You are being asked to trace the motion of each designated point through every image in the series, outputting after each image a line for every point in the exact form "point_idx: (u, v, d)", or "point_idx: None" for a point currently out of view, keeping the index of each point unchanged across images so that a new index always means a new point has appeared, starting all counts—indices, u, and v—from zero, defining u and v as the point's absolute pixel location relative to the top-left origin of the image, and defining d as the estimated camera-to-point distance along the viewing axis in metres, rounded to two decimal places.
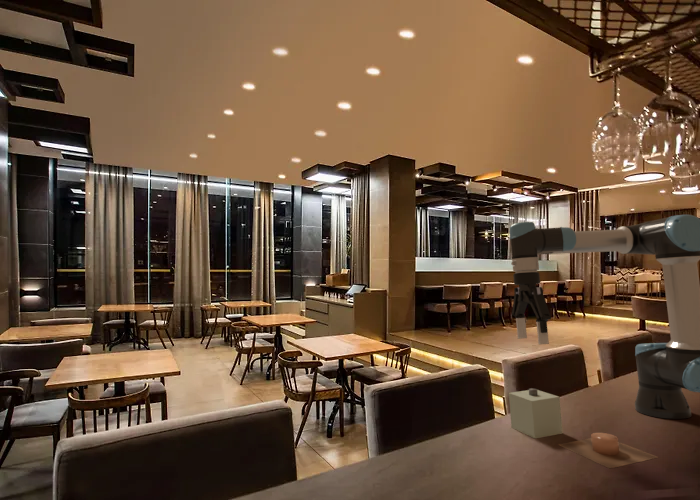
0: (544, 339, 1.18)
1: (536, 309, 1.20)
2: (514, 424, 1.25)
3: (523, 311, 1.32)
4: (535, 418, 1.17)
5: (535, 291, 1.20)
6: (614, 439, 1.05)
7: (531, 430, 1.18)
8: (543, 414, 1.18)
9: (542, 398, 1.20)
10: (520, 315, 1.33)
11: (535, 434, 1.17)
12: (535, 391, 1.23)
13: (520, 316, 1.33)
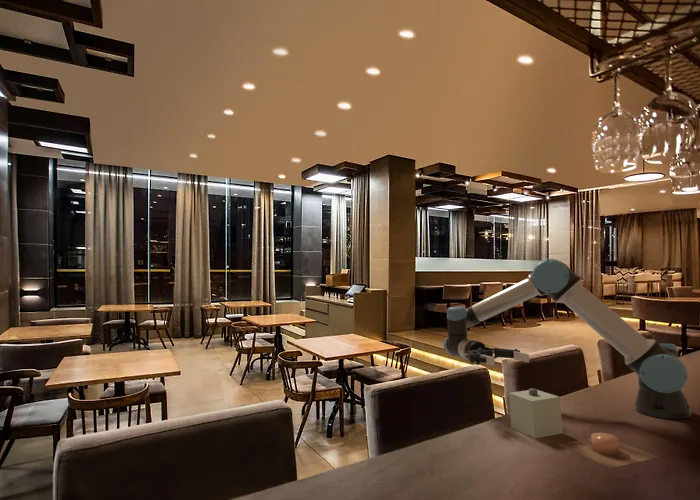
0: (490, 360, 1.32)
1: None
2: (514, 424, 1.25)
3: (507, 352, 1.43)
4: (535, 418, 1.17)
5: (466, 357, 1.46)
6: (614, 439, 1.05)
7: (531, 430, 1.18)
8: (543, 414, 1.18)
9: (542, 398, 1.20)
10: (513, 354, 1.42)
11: (535, 434, 1.17)
12: (535, 391, 1.23)
13: (514, 354, 1.42)
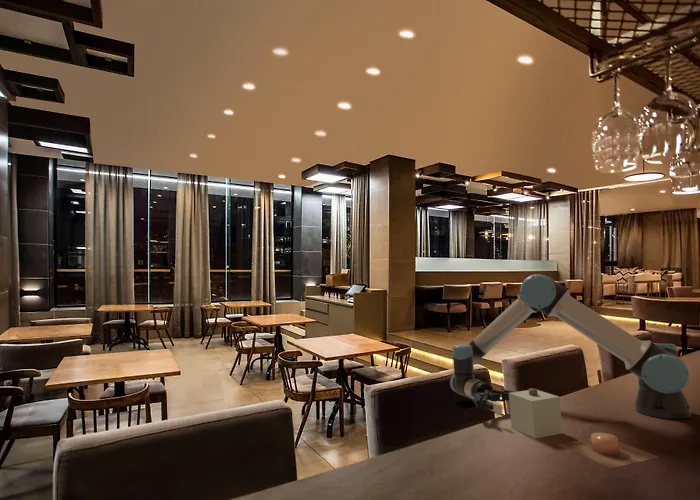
0: (497, 407, 1.29)
1: None
2: (514, 424, 1.25)
3: None
4: (535, 418, 1.17)
5: (472, 400, 1.42)
6: (614, 439, 1.05)
7: (531, 430, 1.18)
8: (543, 414, 1.18)
9: (542, 398, 1.20)
10: None
11: (535, 434, 1.17)
12: (535, 391, 1.23)
13: None
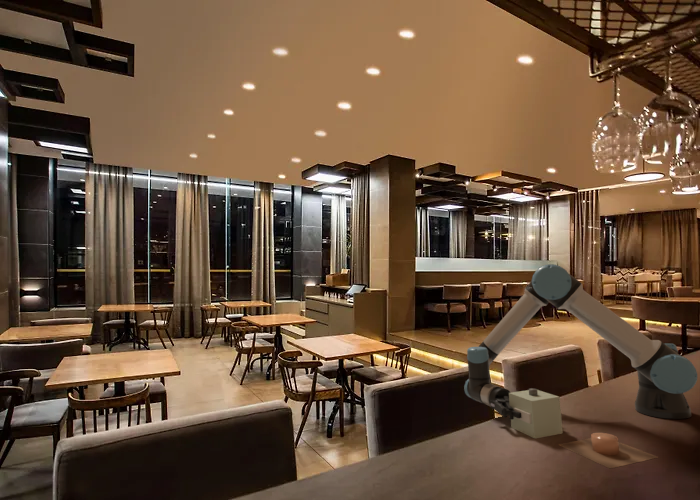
0: (526, 416, 1.19)
1: None
2: (514, 424, 1.25)
3: None
4: (535, 418, 1.18)
5: (492, 408, 1.32)
6: (614, 439, 1.05)
7: (531, 430, 1.18)
8: (543, 414, 1.18)
9: (542, 398, 1.20)
10: None
11: (535, 434, 1.17)
12: (535, 391, 1.23)
13: None
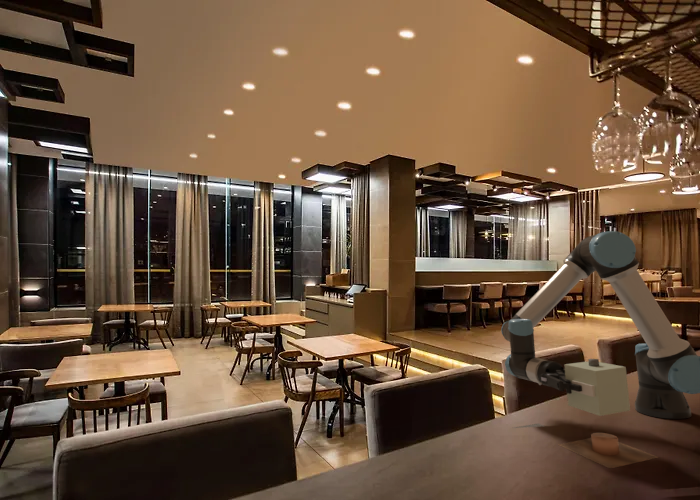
0: (588, 389, 1.04)
1: None
2: (572, 399, 1.10)
3: None
4: (599, 391, 1.03)
5: (544, 382, 1.17)
6: (614, 439, 1.05)
7: (595, 404, 1.03)
8: (608, 386, 1.03)
9: (606, 368, 1.05)
10: None
11: (600, 409, 1.02)
12: (596, 361, 1.08)
13: None
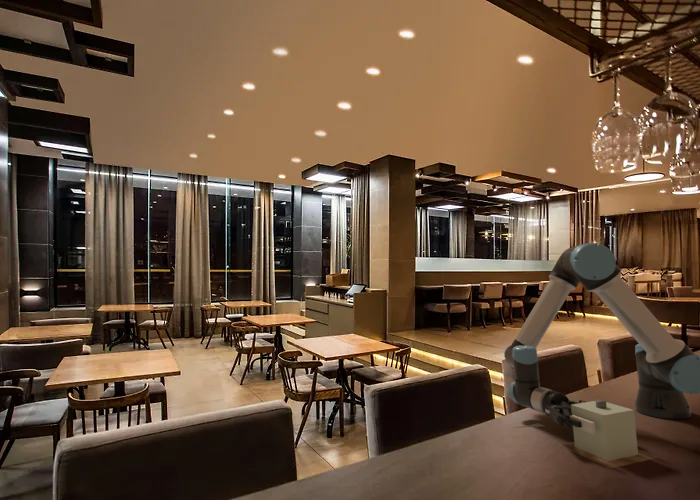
0: (588, 425, 1.03)
1: None
2: (578, 441, 1.09)
3: None
4: (608, 435, 1.01)
5: (547, 414, 1.16)
6: None
7: (603, 449, 1.02)
8: (617, 430, 1.02)
9: (614, 412, 1.03)
10: None
11: (608, 454, 1.01)
12: (604, 403, 1.07)
13: None
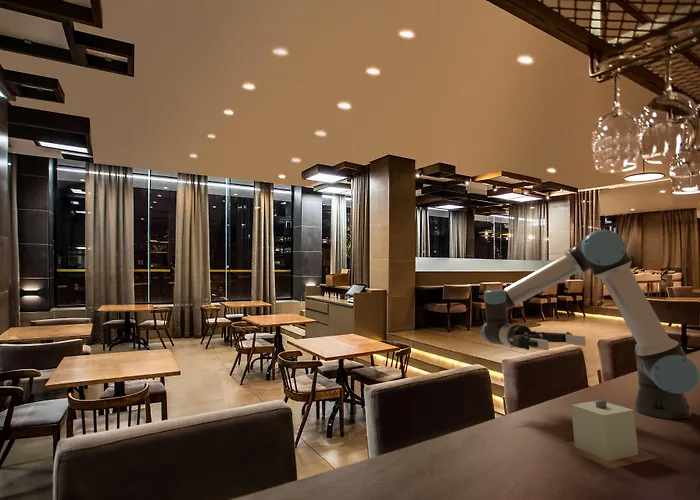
0: (542, 344, 1.17)
1: None
2: (578, 441, 1.09)
3: (558, 336, 1.28)
4: (608, 435, 1.01)
5: (511, 342, 1.31)
6: None
7: (603, 449, 1.02)
8: (617, 430, 1.02)
9: (614, 412, 1.03)
10: (565, 337, 1.27)
11: (608, 454, 1.01)
12: (604, 403, 1.07)
13: None
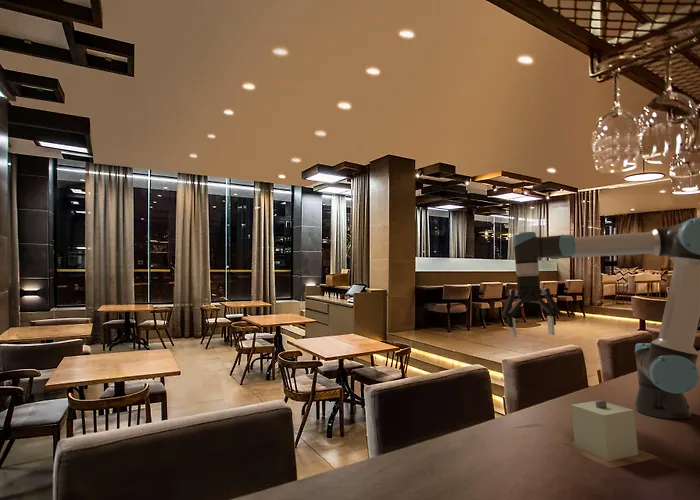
0: (512, 333, 1.43)
1: (512, 307, 1.45)
2: (578, 441, 1.09)
3: (547, 310, 1.44)
4: (608, 435, 1.01)
5: (509, 293, 1.46)
6: None
7: (603, 449, 1.02)
8: (617, 430, 1.02)
9: (614, 412, 1.03)
10: (551, 313, 1.44)
11: (608, 454, 1.01)
12: (604, 403, 1.07)
13: (551, 314, 1.44)
